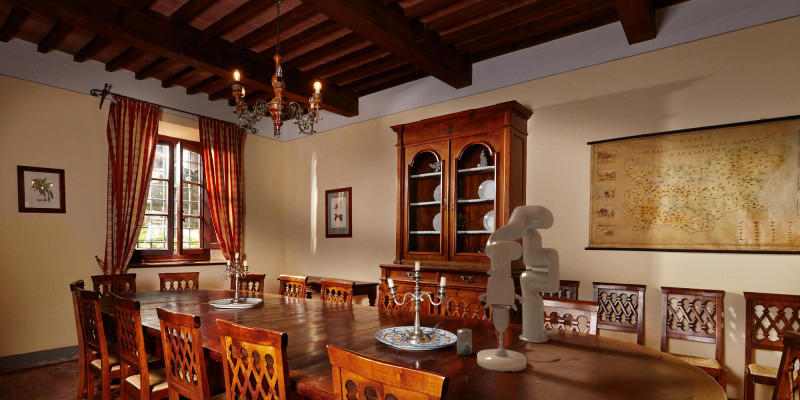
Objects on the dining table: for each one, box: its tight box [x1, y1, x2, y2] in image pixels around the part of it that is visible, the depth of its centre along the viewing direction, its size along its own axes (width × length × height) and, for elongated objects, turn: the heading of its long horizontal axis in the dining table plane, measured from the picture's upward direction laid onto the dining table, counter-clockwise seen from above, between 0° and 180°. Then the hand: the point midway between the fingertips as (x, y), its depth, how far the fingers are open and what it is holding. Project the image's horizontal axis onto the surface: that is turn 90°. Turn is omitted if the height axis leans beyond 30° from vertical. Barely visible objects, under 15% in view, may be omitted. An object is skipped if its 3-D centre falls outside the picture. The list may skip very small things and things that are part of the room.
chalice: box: [490, 305, 512, 357], centre depth 161 cm, size 7×7×18 cm
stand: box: [476, 348, 527, 372], centre depth 160 cm, size 18×18×3 cm
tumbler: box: [456, 328, 473, 356], centre depth 174 cm, size 6×6×9 cm
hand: (501, 319), depth 161 cm, fingers open, 9 cm apart
